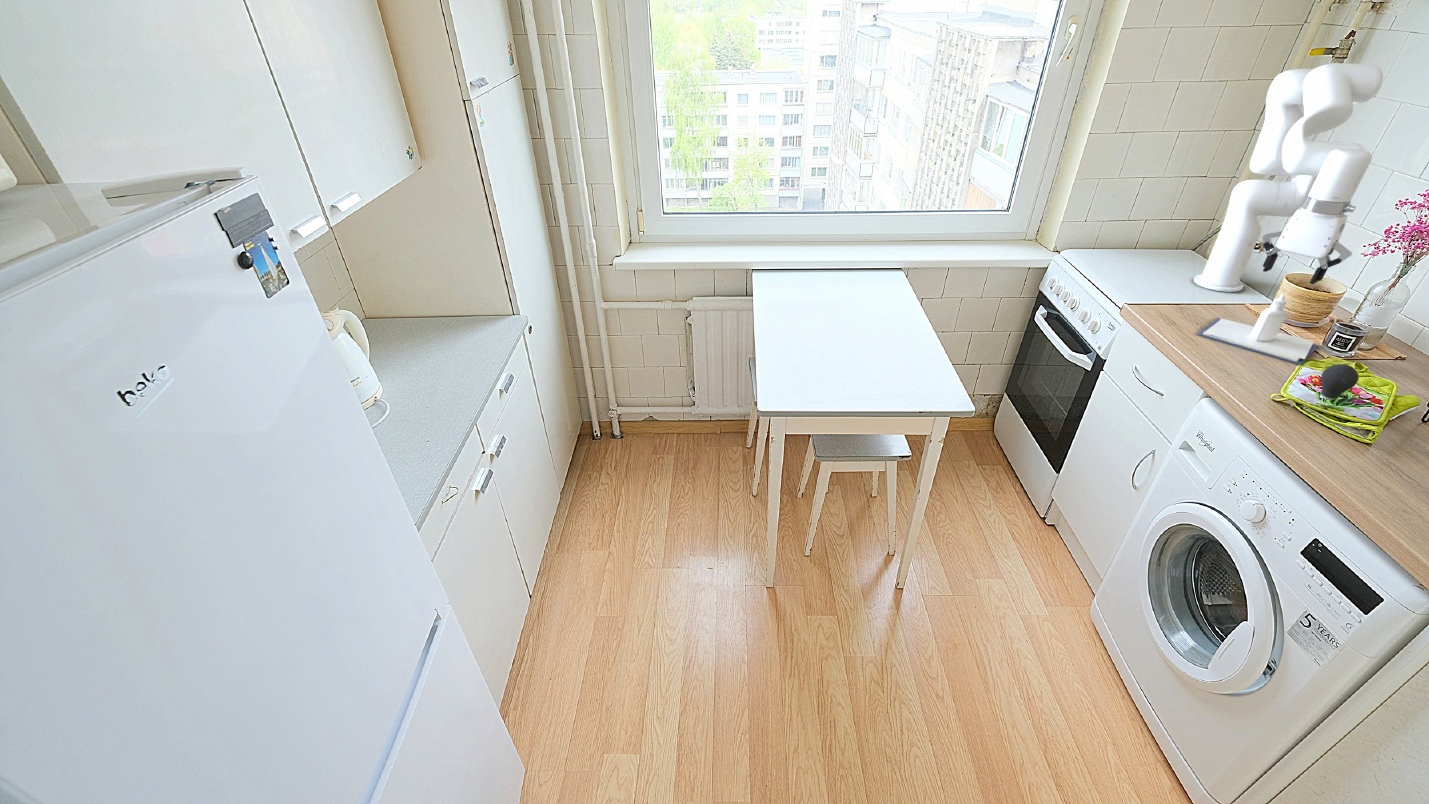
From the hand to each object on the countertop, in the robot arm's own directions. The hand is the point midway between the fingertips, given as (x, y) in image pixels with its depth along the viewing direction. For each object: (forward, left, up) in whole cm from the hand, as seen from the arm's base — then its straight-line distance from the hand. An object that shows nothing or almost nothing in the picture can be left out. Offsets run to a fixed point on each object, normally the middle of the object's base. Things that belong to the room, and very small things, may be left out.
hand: (1289, 276), depth 156 cm
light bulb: (+26, +22, -18) cm, 38 cm away
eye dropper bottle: (+1, +1, -17) cm, 17 cm away
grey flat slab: (+1, 0, -17) cm, 17 cm away
